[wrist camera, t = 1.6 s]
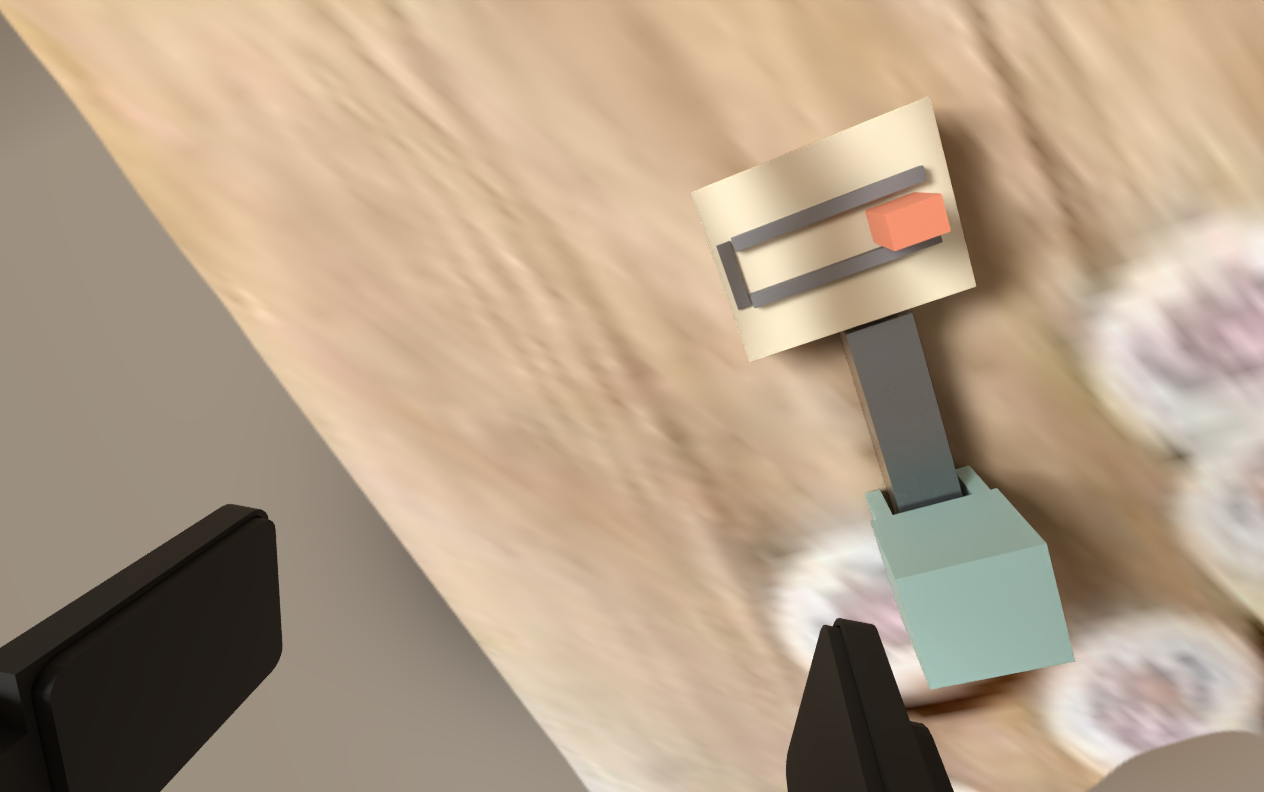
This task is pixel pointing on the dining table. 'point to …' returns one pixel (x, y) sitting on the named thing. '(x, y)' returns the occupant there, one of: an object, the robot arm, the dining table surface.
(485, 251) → the dining table surface
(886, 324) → the rail
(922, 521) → the carriage
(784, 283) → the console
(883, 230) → the orange clay brick
